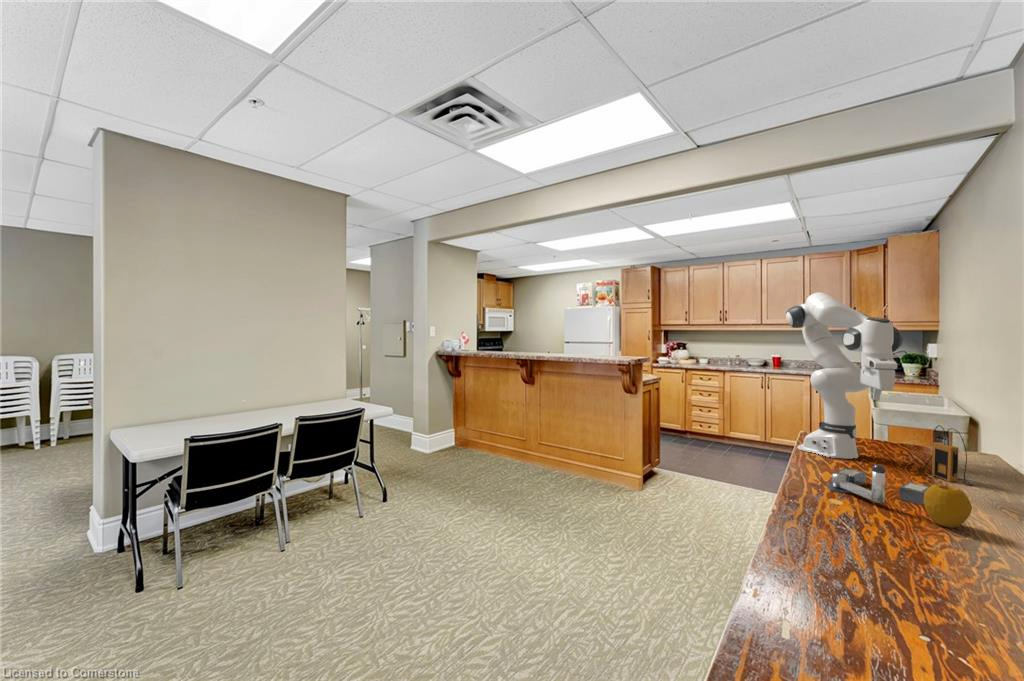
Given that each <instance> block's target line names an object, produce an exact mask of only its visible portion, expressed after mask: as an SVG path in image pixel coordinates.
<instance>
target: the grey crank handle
mask: <svg viewBox="0 0 1024 681" xmlns="http://www.w3.org/2000/svg"><path fill="white" fill-rule="evenodd" d="M886 471H887V470H886V468H885V466H884V465H882V464H874V465H873V466H872V467H871V489H867V488H865V487H863V486H861V485H860V486H858V485H855V484H852V483H850V482H847V481H846V475H844V474H840V473H835V472H832V473H831V484H832V486H834V487H838V488H843V489H846V490H848V491H851V492H852V494H856V495H858V496H860V497H863V498H866V499H868V500H870V501H872V502H874V503H877V504H878V503H879V504H884V503H885V498H886V496H885V494H886V492H885V491H886V473H887V472H886Z"/></svg>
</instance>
